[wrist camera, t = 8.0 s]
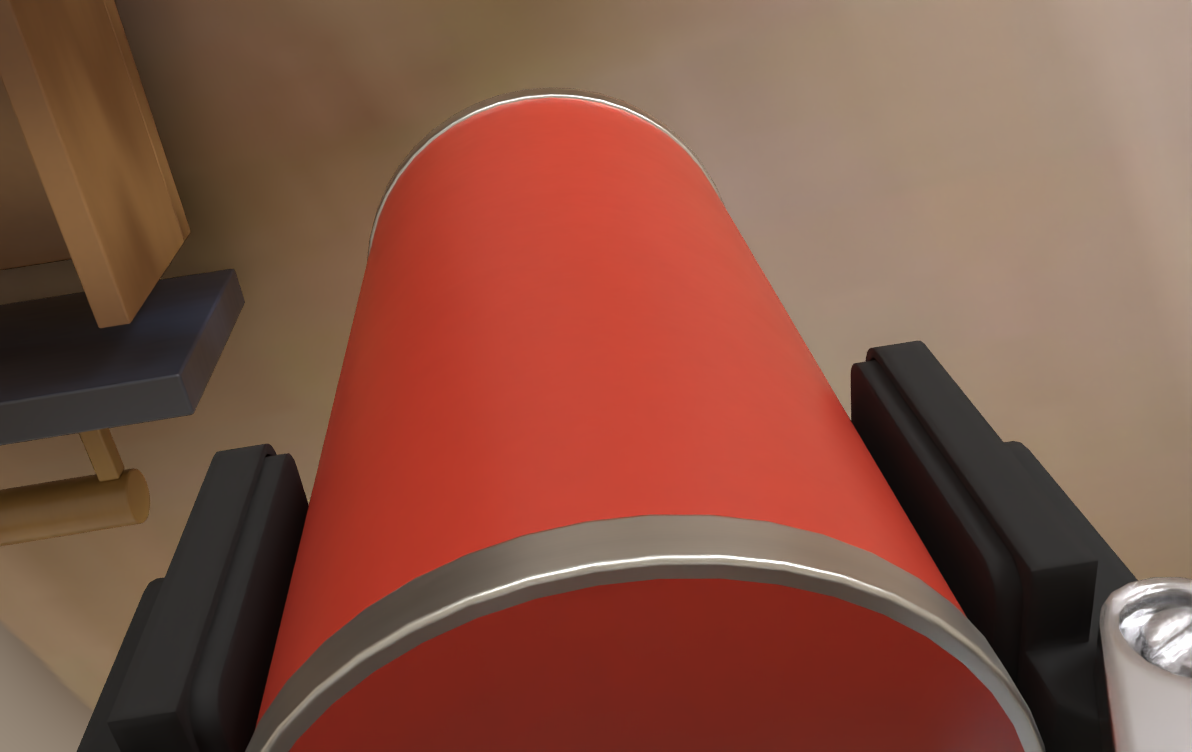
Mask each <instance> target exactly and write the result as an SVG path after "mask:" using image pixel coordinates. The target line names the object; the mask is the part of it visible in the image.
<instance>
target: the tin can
mask: <svg viewBox="0 0 1192 752" xmlns="http://www.w3.org/2000/svg"><path fill="white" fill-rule="evenodd" d="M245 752H1046V751H1045V746H1044V743H1043V741H1042V738H1041V736H1040V733H1039V731H1038V728H1037V726H1036V723H1035V721H1034V718H1033V716H1032V713H1031V711H1030V709H1029V707H1028V706H1027V704H1026V702H1025V701H1024V699H1023V697H1022V696H1021V694H1020V692H1019V691H1018V689H1017V687H1016V686H1015V684H1014V682H1013V681H1012V679H1011V677H1010V676H1009V674H1008V672H1007V671H1006V669H1005V667H1004V666H1003V664H1002V663H1001V661H1000V660H999V658H998V657H997V655H996V654H995V652H994V651H993V649H992V647H991V646H990V644H989V643H988V641H987V640H986V638H985V637H984V636H983V635H982V634H981V632H980V631H979V630H978V629H977V628H976V627H975V626H974V625H973V624H972V623H971V622H970V621H969V620H968V618H967V617H966V615H965V613H964V612H963V610H962V608H961V606H960V605H959V603H958V601H957V600H956V598H955V596H954V595H953V593H952V591H951V590H950V588H949V586H948V584H947V583H946V581H945V579H944V578H943V576H942V574H941V573H940V571H939V569H938V568H937V566H936V564H935V562H934V561H933V559H932V557H931V556H930V554H929V552H928V551H927V549H926V547H925V545H924V544H923V542H922V540H921V539H920V537H919V535H918V534H917V532H916V530H915V529H914V527H913V525H912V523H911V522H910V520H909V518H908V517H907V515H906V513H905V512H904V510H903V508H902V507H901V505H900V503H899V501H898V500H897V498H896V496H895V495H894V493H893V491H892V490H891V488H890V486H889V485H888V483H887V481H886V479H885V478H884V476H883V474H882V473H881V471H880V469H879V468H878V466H877V464H876V462H875V461H874V459H873V457H872V456H871V454H870V452H869V451H868V449H867V447H866V446H865V444H864V442H863V440H862V439H861V437H860V435H859V434H858V432H857V430H856V429H855V427H854V425H853V424H852V422H851V420H850V418H849V417H848V415H847V413H846V412H845V410H844V408H843V407H842V405H841V403H840V402H839V400H838V398H837V396H836V395H835V393H834V391H833V390H832V388H831V386H830V385H829V383H828V381H827V379H826V378H825V376H824V374H823V373H822V371H821V369H820V368H819V366H818V364H817V363H816V361H815V359H814V357H813V356H812V354H811V352H810V351H809V349H808V347H807V346H806V344H805V342H804V341H803V339H802V337H801V335H800V334H799V332H798V330H797V329H796V327H795V325H794V324H793V322H792V320H791V319H790V317H789V315H788V313H787V312H786V310H785V308H784V307H783V305H782V303H781V302H780V300H779V298H778V296H777V295H776V293H775V291H774V290H773V288H772V286H771V285H770V283H769V281H768V280H767V278H766V276H765V274H764V273H763V271H762V269H761V268H760V266H759V264H758V263H757V261H756V259H755V258H754V256H753V254H752V252H751V251H750V249H749V247H748V246H747V244H746V242H745V241H744V239H743V237H742V236H741V234H740V232H739V230H738V229H737V227H736V225H735V224H734V222H733V220H732V219H731V217H730V215H729V214H728V212H727V210H726V208H725V205H724V203H723V201H722V199H721V197H720V194H719V192H718V190H717V188H716V186H715V184H714V182H713V180H712V179H711V177H710V175H709V174H708V172H707V171H706V169H705V168H704V166H703V164H702V163H701V161H700V160H699V158H698V157H697V156H696V155H695V154H694V152H693V151H692V150H691V149H690V148H689V147H688V145H687V144H686V143H685V142H684V141H683V140H682V139H681V138H680V137H679V136H678V135H677V134H675V133H674V132H673V131H672V130H671V129H670V128H669V127H667V126H666V125H665V124H664V123H662V122H661V121H659V120H657V119H656V118H654V117H653V116H651V115H650V114H648V113H647V112H645V111H643V110H641V109H639V108H637V107H635V106H633V105H631V104H629V103H627V102H625V101H622V100H619V99H616V98H613V97H610V96H607V95H604V94H600V93H596V92H590V91H585V90H579V89H571V88H550V87H549V88H537V89H525V90H520V91H515V92H511V93H506V94H502V95H498V96H495V97H492V98H490V99H487V100H484V101H481V102H479V103H476V104H474V105H472V106H470V107H468V108H466V109H464V110H462V111H460V112H458V113H456V114H455V115H453V116H451V117H450V118H448V119H447V120H446V121H444V122H443V123H441V124H440V125H438V126H437V127H436V128H434V129H433V130H432V131H431V132H429V133H428V134H427V135H426V136H425V137H424V138H423V139H422V140H421V141H420V142H419V143H418V144H417V145H416V146H415V147H414V148H413V149H412V150H411V151H410V153H409V154H408V155H407V156H406V158H405V159H404V160H403V161H402V163H401V164H400V165H399V166H398V168H397V170H396V171H395V173H394V175H393V176H392V178H391V180H390V181H389V183H388V185H387V187H386V189H385V191H384V194H383V196H382V199H381V201H380V203H379V206H378V208H377V212H376V216H375V220H374V224H373V227H372V231H371V235H370V241H369V250H368V259H367V266H366V270H365V274H364V278H363V282H362V286H361V291H360V295H359V299H358V303H357V307H356V311H355V316H354V320H353V324H352V328H351V332H350V336H349V341H348V345H347V349H346V353H345V357H344V361H343V366H342V370H341V374H340V378H339V382H338V386H337V390H336V395H335V399H334V403H333V407H332V411H331V415H330V420H329V424H328V428H327V432H326V436H325V440H324V445H323V449H322V453H321V457H320V461H319V465H318V470H317V474H316V478H315V482H314V486H313V490H312V495H311V499H310V503H309V507H308V511H307V515H306V520H305V524H304V528H303V532H302V536H301V540H300V545H299V549H298V553H297V557H296V561H295V565H294V570H293V574H292V578H291V582H290V586H289V590H288V594H287V599H286V603H285V607H284V611H283V615H282V619H281V624H280V628H279V632H278V636H277V640H276V644H275V649H274V653H273V657H272V661H271V665H270V669H269V674H268V678H267V682H266V686H265V690H264V694H263V699H262V703H261V707H260V711H259V715H258V719H257V724H256V728H255V732H254V734H253V736H252V738H251V740H250V742H249V744H248V746H247V749H246V751H245Z"/></svg>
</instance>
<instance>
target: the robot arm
mask: <svg viewBox="0 0 1192 752" xmlns="http://www.w3.org/2000/svg"><path fill="white" fill-rule="evenodd" d="M851 422H852V424H853V425H854V427H855V429H856V430H857V432H858V434H859V435H860V437H861V439H862V440H863V442H864V444H865V446H866V447H867V449H868V451H869V452H870V454H871V456H872V457H873V459H874V461H875V462H876V464H877V466H878V468H879V469H880V471H881V473H882V474H883V476H884V478H885V479H886V481H887V483H888V485H889V486H890V488H891V490H892V491H893V493H894V495H895V496H896V498H897V500H898V501H899V503H900V505H901V507H902V508H903V510H904V512H905V513H906V515H907V517H908V518H909V520H910V522H911V523H912V525H913V527H914V529H915V530H916V532H917V534H918V535H919V537H920V539H921V540H922V542H923V544H924V545H925V547H926V549H927V551H928V552H929V554H930V556H931V557H932V559H933V561H934V562H935V564H936V566H937V568H938V569H939V571H940V573H941V574H942V576H943V578H944V579H945V581H946V583H947V584H948V586H949V588H950V590H951V591H952V593H953V595H954V596H955V598H956V600H957V601H958V603H959V605H960V606H961V608H962V610H963V612H964V613H965V615H966V617H967V618H968V620H969V621H970V622H971V623H972V624H973V625H974V626H975V627H976V628H977V629H978V630H979V631H980V632H981V634H982V635H983V636H984V637H985V638H986V640H987V641H988V643H989V644H990V646H991V647H992V649H993V651H994V652H995V654H996V655H997V657H998V658H999V660H1000V661H1001V663H1002V664H1003V666H1004V667H1005V669H1006V671H1007V672H1008V674H1009V676H1010V677H1011V679H1012V681H1013V682H1014V684H1015V686H1016V687H1017V689H1018V691H1019V692H1020V694H1021V696H1022V697H1023V699H1024V701H1025V702H1026V704H1027V706H1028V707H1029V709H1030V711H1031V713H1032V716H1033V718H1034V721H1035V723H1036V726H1037V728H1038V731H1039V733H1040V736H1041V738H1042V741H1043V743H1044V746H1045V751H1046V752H1192V579H1187V578H1181V577H1156V578H1148V579H1144V580H1140V581H1138V580H1137V579H1136V578H1135V576H1134V575H1133V574H1132V573H1131V572H1130V570H1129V569H1128V568H1127V567H1126V566H1125V564H1124V563H1123V562H1122V561H1121V560H1120V558H1119V557H1118V556H1117V555H1116V554H1115V552H1114V551H1113V550H1112V549H1111V548H1110V546H1109V545H1108V544H1107V543H1106V542H1105V540H1104V539H1103V538H1102V537H1101V536H1100V534H1099V533H1098V532H1097V531H1096V530H1095V528H1094V527H1093V526H1092V525H1091V524H1090V522H1089V521H1088V520H1087V519H1086V518H1085V516H1084V515H1083V514H1082V513H1081V512H1080V510H1079V509H1078V508H1077V507H1076V506H1075V504H1074V503H1073V502H1072V501H1071V500H1070V498H1069V497H1068V496H1067V495H1066V494H1065V492H1064V491H1063V490H1062V489H1061V488H1060V486H1059V485H1058V484H1057V483H1056V482H1055V480H1054V479H1053V478H1052V477H1051V476H1050V474H1049V473H1048V472H1047V471H1046V470H1045V468H1044V467H1043V466H1042V465H1041V464H1040V462H1039V461H1038V460H1037V459H1036V458H1035V456H1034V455H1033V454H1032V453H1031V452H1030V450H1029V449H1027V448H1026V447H1025V446H1024V445H1023V444H1022V443H1020V442H1015V441H1011V442H1003V441H1002V440H1001V439H1000V437H999V436H998V435H997V434H996V432H995V431H994V430H993V429H992V427H991V426H990V425H989V424H988V422H987V421H986V420H985V419H984V417H983V416H982V415H981V414H980V412H979V411H978V410H977V409H976V408H975V406H974V405H973V404H972V403H971V401H970V400H969V399H968V398H967V396H966V395H965V394H964V393H963V391H962V390H961V389H960V388H959V386H958V385H957V384H956V383H955V381H954V380H953V379H952V378H951V376H950V375H949V374H948V373H947V371H946V370H945V369H944V368H943V366H942V365H941V364H940V363H939V361H938V360H937V359H936V358H935V357H934V355H933V354H932V353H931V352H930V350H929V349H928V348H927V347H926V345H925V344H924V343H923V342H921V341H913V342H906V343H900V344H894V345H887V346H881V347H875V348H870V349H869V350H868V352H867V356H866V362H861V363H855V364H853V366H852V369H851ZM308 507H309V505H308V502H307V498H306V495H305V492H304V489H303V486H302V482H301V479H300V476H299V473H298V470H297V466H296V464H295V461H294V459H293V457H292V456H291V455H290V454H289V453H288V454H281V455H276V452H275V450H274V449H273V447H272V446H271V445H269V444H262V445H256V446H250V447H243V448H237V449H231V450H224V451H219V452H216V454H215V455H214V457H213V459H212V461H211V464H210V466H209V469H208V471H207V474H206V476H205V479H204V481H203V484H202V486H201V489H200V491H199V494H198V496H197V499H196V501H195V504H194V506H193V509H192V511H191V514H190V516H189V519H188V521H187V524H186V526H185V529H184V531H183V534H182V536H181V539H180V541H179V544H178V546H177V549H176V551H175V554H174V556H173V559H172V561H171V564H170V566H169V569H168V571H167V574H166V576H165V577H164V578H158V579H155V580H154V581H152V582H150V583H149V585H148V586H147V588H146V589H145V591H144V593H143V595H142V597H141V600H140V602H139V605H138V607H137V609H136V612H135V614H134V616H133V619H132V621H131V624H130V626H129V628H128V631H127V633H126V635H125V638H124V640H123V643H122V645H121V647H120V650H119V652H118V655H117V657H116V659H115V662H114V664H113V666H112V669H111V671H110V674H109V676H108V678H107V681H106V683H105V685H104V688H103V690H102V693H101V695H100V697H99V700H98V702H97V704H96V707H95V709H94V712H93V714H92V717H91V719H90V721H89V724H88V726H87V728H86V731H85V733H84V736H83V738H82V740H81V743H80V745H79V747H78V750H77V752H245V751H246V749H247V746H248V744H249V742H250V740H251V738H252V736H253V734H254V732H255V728H256V724H257V719H258V715H259V711H260V707H261V703H262V699H263V694H264V690H265V686H266V682H267V678H268V674H269V669H270V665H271V661H272V657H273V653H274V649H275V644H276V640H277V636H278V632H279V628H280V624H281V619H282V615H283V611H284V607H285V603H286V599H287V594H288V590H289V586H290V582H291V578H292V574H293V570H294V565H295V561H296V557H297V553H298V549H299V545H300V540H301V536H302V532H303V528H304V524H305V520H306V515H307V511H308Z"/></svg>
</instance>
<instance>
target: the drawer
mask: <svg viewBox="0 0 1192 752" xmlns="http://www.w3.org/2000/svg"><path fill="white" fill-rule="evenodd" d="M189 234H190V228H189V225H188V222H187V219H186V216H185V213H184V210H183V207H182V204H181V201H180V198H179V195H178V192H177V189H176V186H175V183H174V180H173V177H172V174H171V171H170V168H169V165H168V162H167V159H166V156H165V153H164V150H163V147H162V144H161V141H160V138H159V135H158V132H157V129H156V126H155V123H154V119H153V116H152V113H151V110H150V107H149V104H148V101H147V98H146V95H145V92H144V89H143V86H142V83H141V80H140V77H139V74H138V71H137V68H136V65H135V62H134V59H133V56H132V53H131V50H130V47H129V44H128V41H127V38H126V35H125V32H124V29H123V26H122V23H121V20H120V17H119V14H118V11H117V8H116V5H115V2H114V0H0V270H6V269H12V268H19V267H25V266H31V265H38V264H44V263H51V262H57V261H63V260H70V259H72V261H73V264H74V266H75V269H76V271H77V274H78V276H79V279H80V281H81V284H82V287H83V289H84V292H81V293H75V294H68V295H62V296H55V297H49V298H43V299H36V300H30V301H24V302H17V303H11V304H5V305H0V445H6V444H12V443H18V442H25V441H31V440H37V439H43V438H50V437H56V436H62V435H68V434H75V433H79V435H80V437H81V439H82V442H83V444H84V447H85V449H86V451H87V454H88V456H89V458H90V461H91V463H92V465H93V468H94V470H95V472H96V474H95V475H89V476H83V477H77V478H70V479H64V480H58V481H52V482H45V483H39V484H33V485H27V486H21V487H14V488H8V489H2V490H0V546H5V545H11V544H18V543H24V542H30V541H36V540H42V539H48V538H55V537H61V536H67V535H73V534H79V533H85V532H92V531H98V530H104V529H110V528H116V527H122V526H129V525H135V524H141V523H143V522H144V521H146V519H147V517H148V515H149V510H150V495H149V489H148V485H147V482H146V480H145V478H144V476H143V474H142V473H141V472H140V471H139V470H138V469H134V468H132V469H126V470H124V465H123V462H122V460H121V457H120V455H119V453H118V450H117V448H116V445H115V443H114V440H113V438H112V435H111V433H110V430H109V428H112V427H118V426H124V425H131V424H137V423H143V422H149V421H156V420H162V419H168V418H174V417H181V416H187V415H192V414H193V413H194V412H195V410H196V408H197V405H198V403H199V401H200V399H201V397H202V395H203V392H204V390H205V388H206V386H207V384H208V382H209V379H210V377H211V375H212V373H213V371H214V369H215V366H216V364H217V362H218V360H219V358H220V356H221V353H222V351H223V349H224V347H225V345H226V342H227V340H228V338H229V336H230V334H231V332H232V329H233V327H234V325H235V323H236V321H237V319H238V316H239V314H240V312H241V310H242V308H243V306H244V303H245V301H244V298H243V294H242V291H241V288H240V285H239V282H238V279H237V275H236V272H235V270H234V269H227V270H220V271H214V272H208V273H201V274H195V275H189V276H182V277H176V278H170V279H163V280H159V279H160V278H161V276H162V275H163V273H164V272H165V270H166V269H167V267H168V265H169V264H170V262H171V261H172V259H173V258H174V256H175V255H176V253H177V252H178V250H179V249H180V247H181V246H182V244H183V243H184V241H185V240H186V238H187V237H188V235H189Z"/></svg>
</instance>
